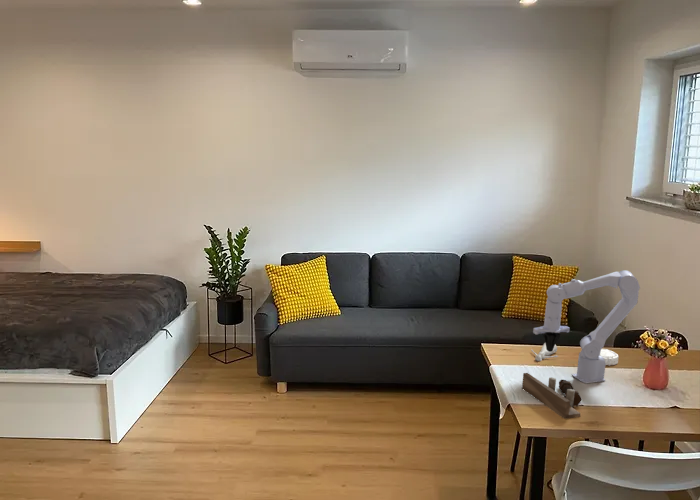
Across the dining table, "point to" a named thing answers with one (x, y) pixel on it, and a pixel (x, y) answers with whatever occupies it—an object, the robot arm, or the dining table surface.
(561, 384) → the dark brown elongated lump
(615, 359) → the mooncake
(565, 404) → the peg rack
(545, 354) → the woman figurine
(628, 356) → the dining table surface
